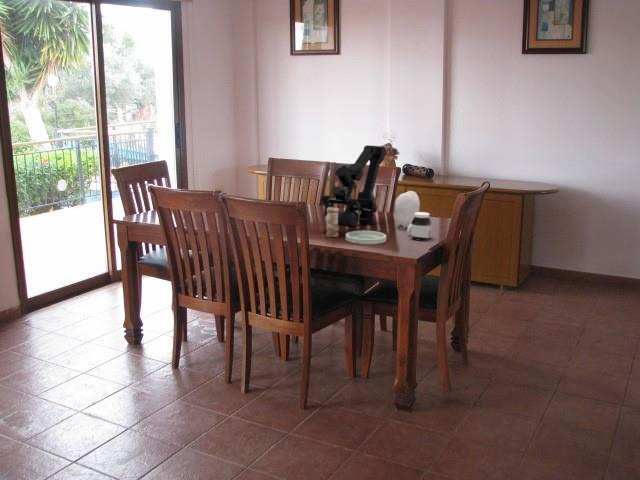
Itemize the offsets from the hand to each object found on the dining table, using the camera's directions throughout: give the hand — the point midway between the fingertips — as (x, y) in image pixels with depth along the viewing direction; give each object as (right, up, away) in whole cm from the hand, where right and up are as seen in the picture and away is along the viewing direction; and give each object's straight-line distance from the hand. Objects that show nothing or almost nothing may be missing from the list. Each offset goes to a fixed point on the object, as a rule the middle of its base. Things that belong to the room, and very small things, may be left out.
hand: (333, 217), depth 321 cm
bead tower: (-1, -8, +1) cm, 9 cm away
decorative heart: (+36, -4, +23) cm, 43 cm away
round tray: (+14, -10, -4) cm, 18 cm away
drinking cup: (-1, +1, +30) cm, 30 cm away
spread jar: (+38, -9, +2) cm, 40 cm away
